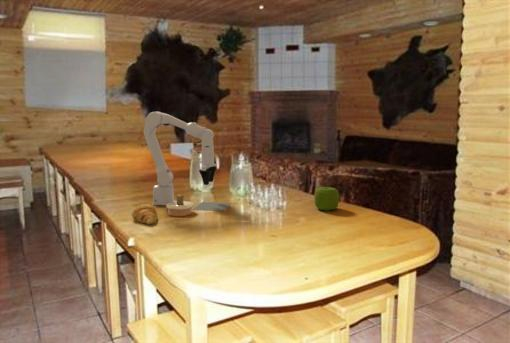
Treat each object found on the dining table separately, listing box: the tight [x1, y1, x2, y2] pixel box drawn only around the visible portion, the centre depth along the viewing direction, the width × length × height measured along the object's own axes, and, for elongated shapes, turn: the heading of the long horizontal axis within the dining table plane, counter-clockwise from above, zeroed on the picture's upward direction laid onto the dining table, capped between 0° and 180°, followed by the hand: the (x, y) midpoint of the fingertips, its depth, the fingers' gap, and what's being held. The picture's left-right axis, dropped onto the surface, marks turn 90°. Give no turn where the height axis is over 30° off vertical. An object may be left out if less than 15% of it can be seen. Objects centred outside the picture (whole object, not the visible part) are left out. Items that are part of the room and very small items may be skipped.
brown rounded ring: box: [167, 207, 193, 217], centre depth 195 cm, size 10×10×4 cm
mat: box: [192, 201, 233, 212], centre depth 207 cm, size 15×15×1 cm
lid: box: [165, 194, 195, 210], centre depth 194 cm, size 12×12×5 cm
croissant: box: [131, 203, 158, 225], centre depth 187 cm, size 21×10×8 cm, turn 29°
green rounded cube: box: [314, 185, 340, 212], centre depth 202 cm, size 11×11×11 cm
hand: (208, 183), depth 213 cm, fingers open, 7 cm apart
